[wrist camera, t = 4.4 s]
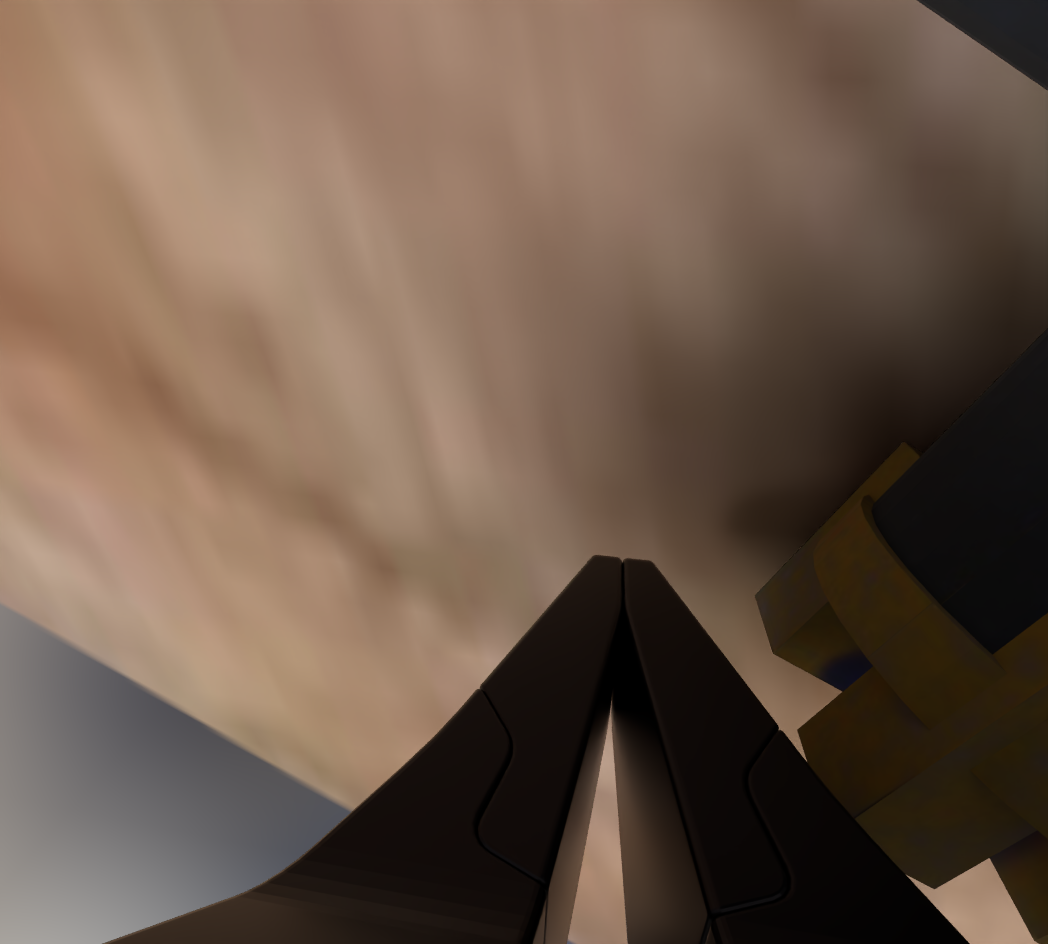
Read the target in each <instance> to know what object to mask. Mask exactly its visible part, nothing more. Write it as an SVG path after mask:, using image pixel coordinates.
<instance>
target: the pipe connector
mask: <svg viewBox="0 0 1048 944" xmlns="http://www.w3.org/2000/svg"><path fill="white" fill-rule="evenodd" d="M917 1H919V2H920V3H922V4H923V5H924V6H926V7H927V8H929V9H930V10H932V11H933V12H935V13H936V14H938V15H939V16H940V17H942V18H943V19H945V20H946V21H948V22H949V23H951V24H952V25H953V26H955V27H956V28H958V29H959V30H961V31H962V32H964V33H965V34H967V35H968V36H969V37H971V38H972V39H974V40H975V41H977V42H978V43H980V44H981V45H982V46H984V47H985V48H987V49H988V50H990V51H991V52H993V53H994V54H996V55H997V56H998V57H1000V58H1001V59H1003V60H1004V61H1006V62H1007V63H1009V64H1010V65H1012V66H1013V67H1014V68H1016V69H1017V70H1019V71H1020V72H1022V73H1023V74H1025V75H1026V76H1027V77H1029V78H1030V79H1032V80H1033V81H1035V82H1036V83H1038V84H1039V85H1041V86H1042V87H1043V88H1045V89H1046V90H1048V0H917ZM755 598H756V601H757V604H758V607H759V610H760V614H761V617H762V620H763V623H764V626H765V629H766V633H767V636H768V639H769V642H770V645H771V648H772V652H773V654H775V655H777V656H779V657H780V658H782V659H784V660H786V661H788V662H790V663H791V664H793V665H795V666H797V667H799V668H801V669H802V670H804V671H806V672H808V673H810V674H812V675H813V676H815V677H817V678H819V679H821V680H823V681H824V682H826V683H828V684H830V685H832V686H834V687H835V688H837V689H839V690H841V691H843V692H842V693H841V694H840V695H838V696H837V697H836V698H835V699H834V700H832V701H831V702H830V703H829V704H828V705H826V706H825V707H824V708H823V709H822V710H820V711H819V712H818V713H817V714H816V715H814V716H813V717H812V718H811V719H810V720H808V721H807V722H806V723H805V724H804V725H803V726H801V727H800V728H799V729H798V730H797V731H798V734H799V737H800V740H801V743H802V747H803V750H804V753H805V756H806V759H807V762H808V764H809V765H810V767H811V768H812V769H813V770H814V772H815V773H816V774H817V775H818V776H819V778H820V779H821V780H822V781H823V783H824V784H825V785H826V786H827V788H828V789H829V790H830V791H831V793H832V794H833V795H834V796H835V797H836V798H837V799H838V801H839V802H840V803H841V804H842V805H843V806H844V807H845V808H846V810H847V811H848V812H849V813H850V814H851V815H852V816H853V817H854V819H855V820H856V821H857V822H858V823H859V824H860V825H861V826H862V828H863V829H864V830H865V831H866V832H867V833H868V834H869V835H870V837H871V838H872V839H873V840H874V841H875V842H876V843H877V844H878V845H879V846H880V848H881V849H882V850H883V851H884V852H885V853H886V854H887V855H888V856H889V857H890V858H891V859H892V860H893V862H894V863H895V864H896V865H897V866H898V867H899V868H900V869H901V870H902V871H903V872H904V873H905V874H906V875H908V876H910V877H912V878H914V879H916V880H918V881H920V882H921V883H923V884H925V885H927V886H929V887H931V888H933V889H936V888H938V887H939V886H941V885H943V884H945V883H946V882H948V881H950V880H952V879H953V878H955V877H957V876H958V875H960V874H962V873H964V872H965V871H967V870H969V869H971V868H972V867H974V866H976V865H978V864H979V863H981V862H983V861H985V860H986V859H988V858H990V859H991V861H992V863H993V865H994V867H995V869H996V871H997V872H998V874H999V876H1000V878H1001V880H1002V882H1003V884H1004V885H1005V887H1006V889H1007V891H1008V893H1009V895H1010V897H1011V898H1012V900H1013V902H1014V904H1015V906H1016V908H1017V910H1018V911H1019V913H1020V915H1021V917H1022V919H1023V921H1024V923H1025V924H1026V926H1027V928H1028V930H1029V932H1030V934H1031V936H1032V937H1033V939H1034V941H1036V942H1037V943H1039V944H1048V329H1047V330H1046V331H1045V332H1044V333H1043V334H1042V335H1041V336H1040V337H1039V338H1038V339H1037V340H1036V341H1035V342H1034V343H1033V344H1032V345H1031V346H1030V347H1029V348H1028V349H1027V350H1026V351H1025V352H1024V353H1023V354H1022V355H1021V356H1020V357H1019V358H1018V359H1017V360H1016V361H1015V362H1014V363H1013V364H1012V365H1011V366H1010V367H1009V368H1008V369H1007V370H1006V371H1005V372H1004V373H1003V374H1002V375H1001V376H1000V377H999V378H998V379H997V380H996V381H995V382H994V383H993V384H992V385H991V386H990V387H989V388H988V389H987V390H986V391H985V392H984V393H983V394H982V395H981V396H980V397H979V398H978V399H977V400H976V401H975V402H974V403H973V404H972V405H971V406H970V407H969V408H968V409H967V410H966V411H965V412H964V413H963V414H962V415H961V416H960V417H959V418H958V419H957V420H956V421H955V422H954V423H953V424H952V425H951V426H950V427H949V428H948V429H947V430H946V431H945V432H944V433H943V434H942V435H941V436H940V437H939V438H938V439H937V440H936V441H935V442H934V443H933V444H932V445H931V446H930V447H929V448H928V449H927V450H926V451H925V452H924V453H922V452H920V451H919V450H917V449H915V448H914V447H912V446H910V445H909V444H907V443H905V442H903V443H902V444H901V445H900V446H899V447H898V448H897V449H896V450H895V451H894V452H893V453H892V454H891V455H890V456H889V457H888V458H887V459H886V460H885V461H884V462H883V463H882V464H881V465H880V467H879V468H878V469H877V470H876V471H875V472H874V473H873V474H872V475H871V476H870V477H869V478H868V479H867V480H866V481H865V482H864V483H863V484H862V485H861V486H860V487H859V488H858V489H857V490H856V491H855V492H854V493H853V494H852V496H851V497H850V498H849V499H848V500H847V501H846V502H845V503H844V504H843V505H842V506H841V507H840V508H839V509H838V510H837V511H836V512H835V513H834V514H833V515H832V516H831V517H830V518H829V519H828V520H827V521H826V522H825V523H824V525H823V526H822V527H821V528H820V529H819V530H818V531H817V532H816V533H815V534H814V535H813V536H812V537H811V538H810V539H809V540H808V541H807V542H806V543H805V544H804V545H803V546H802V547H801V548H800V549H799V550H798V551H797V552H796V554H795V555H794V556H793V557H792V558H791V559H790V560H789V561H788V562H787V563H786V564H785V565H784V566H783V567H782V568H781V569H780V570H779V571H778V572H777V573H776V574H775V575H774V576H773V577H772V578H771V579H770V580H769V581H768V583H767V584H766V585H765V586H764V587H763V588H762V589H761V590H760V591H759V592H758V593H757V594H756V595H755Z"/></svg>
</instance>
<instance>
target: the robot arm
mask: <svg viewBox="0 0 1048 944" xmlns="http://www.w3.org/2000/svg"><path fill="white" fill-rule="evenodd" d="M611 700H612V708H611ZM610 708H611V716H612V735H613V749H614V763H615V776H616V790H617V804H618V817H619V831H620V845H621V859H622V872H623V886H624V900H625V913H626V927H627V941H628V944H969V942H968V941H967V940H966V939H965V938H964V937H963V936H962V935H961V934H960V933H959V932H958V931H957V930H956V928H955V927H954V926H953V925H952V924H951V923H950V922H949V921H948V920H947V919H946V918H945V917H944V916H943V914H942V913H941V912H940V911H939V910H938V909H937V908H936V907H935V906H934V905H933V904H932V903H931V901H930V900H929V899H928V898H927V897H926V896H925V895H924V894H923V893H922V892H921V891H920V890H919V889H918V887H917V886H916V885H915V884H914V883H913V882H912V881H911V880H910V879H909V878H908V877H907V876H906V875H905V873H904V872H903V871H902V870H901V869H900V868H899V867H898V866H897V865H896V864H895V863H894V862H893V860H892V859H891V858H890V857H889V856H888V855H887V854H886V853H885V852H884V851H883V850H882V849H881V848H880V846H879V845H878V844H877V843H876V842H875V841H874V840H873V839H872V838H871V837H870V835H869V834H868V833H867V832H866V831H865V830H864V829H863V828H862V826H861V825H860V824H859V823H858V822H857V821H856V820H855V819H854V817H853V816H852V815H851V814H850V813H849V812H848V811H847V810H846V808H845V807H844V806H843V805H842V804H841V803H840V802H839V801H838V799H837V798H836V797H835V796H834V795H833V794H832V793H831V791H830V790H829V789H828V788H827V786H826V785H825V784H824V783H823V781H822V780H821V779H820V778H819V776H818V775H817V774H816V773H815V772H814V770H813V769H812V768H811V767H810V765H809V764H808V763H807V762H806V760H805V759H804V758H803V757H802V755H801V754H800V753H799V752H798V750H797V749H796V748H795V746H794V745H793V744H792V742H791V741H790V740H789V739H788V737H787V736H786V735H785V733H784V732H783V731H781V730H779V727H778V725H777V723H776V722H775V721H774V719H773V718H772V717H771V716H770V714H769V713H768V712H767V710H766V709H765V708H764V706H763V705H762V704H761V702H760V701H759V700H758V699H757V697H756V696H755V695H754V693H753V692H752V691H751V689H750V688H749V687H748V686H747V684H746V683H745V682H744V680H743V679H742V678H741V676H740V675H739V674H738V672H737V671H736V670H735V669H734V667H733V666H732V665H731V663H730V662H729V661H728V659H727V658H726V657H725V656H724V654H723V653H722V652H721V650H720V649H719V648H718V646H717V645H716V644H715V643H714V641H713V640H712V639H711V637H710V636H709V635H708V633H707V632H706V631H705V629H704V628H703V627H702V626H701V624H700V623H699V622H698V620H697V619H696V618H695V616H694V615H693V614H692V613H691V611H690V610H689V609H688V607H687V606H686V605H685V603H684V602H683V601H682V600H681V598H680V597H679V596H678V594H677V593H676V592H675V590H674V589H673V588H672V586H671V585H670V584H669V583H668V581H667V580H666V579H665V577H664V576H663V575H662V573H661V572H660V571H659V570H658V568H657V567H656V566H655V564H654V563H653V562H651V561H649V560H640V559H630V558H626V559H624V560H623V562H622V561H621V559H620V558H618V557H611V556H601V555H594V556H593V557H592V558H591V559H590V560H589V561H588V562H587V563H586V564H585V565H584V567H583V568H582V569H581V570H580V571H579V572H578V574H577V575H576V576H575V577H574V578H573V579H572V580H571V582H570V583H569V584H568V585H567V586H566V587H565V589H564V590H563V591H562V592H561V593H560V594H559V595H558V597H557V598H556V599H555V600H554V601H553V602H552V604H551V605H550V606H549V607H548V608H547V609H546V610H545V612H544V613H543V614H542V615H541V616H540V617H539V619H538V620H537V621H536V622H535V623H534V624H533V625H532V627H531V628H530V629H529V630H528V631H527V632H526V634H525V635H524V636H523V637H522V638H521V639H520V640H519V642H518V643H517V644H516V645H515V646H514V647H513V649H512V650H511V651H510V652H509V653H508V654H507V655H506V657H505V658H504V659H503V660H502V661H501V662H500V664H499V665H498V666H497V667H496V668H495V669H494V670H493V672H492V673H491V674H490V675H489V676H488V677H487V679H486V680H485V681H484V682H483V683H482V684H481V686H480V689H477V690H476V691H475V692H474V693H473V694H472V695H471V697H470V698H469V699H468V700H467V701H466V702H465V704H464V705H463V706H462V707H461V708H460V709H459V710H458V712H457V713H456V714H455V715H454V716H453V717H452V718H451V719H450V720H449V721H448V722H447V723H446V724H445V725H444V727H443V728H442V729H441V730H440V731H439V732H438V733H437V734H436V735H435V736H434V737H433V738H432V739H431V740H430V741H429V742H428V743H427V744H426V745H425V746H424V747H423V748H422V749H420V750H419V751H418V752H417V753H416V754H415V755H414V756H413V757H412V758H411V759H410V760H409V761H408V762H407V763H406V764H404V765H403V766H402V767H401V768H400V769H399V770H398V771H397V772H396V773H395V774H393V775H392V776H391V777H390V778H389V779H388V780H387V781H386V782H385V783H383V784H382V785H381V786H380V787H379V788H378V789H377V790H376V791H374V792H373V793H372V794H371V795H370V796H369V797H368V798H367V799H366V800H364V801H363V802H362V803H361V804H360V805H359V806H358V807H357V808H355V809H354V810H353V811H352V812H351V813H350V814H349V815H348V816H347V817H345V818H344V819H343V820H342V821H341V822H340V823H339V824H338V825H336V826H335V827H334V828H333V829H332V830H331V831H330V832H329V833H327V834H326V835H325V836H324V837H323V838H322V839H321V840H320V841H319V842H317V843H316V844H315V845H314V846H313V847H312V848H311V849H309V850H308V851H307V852H306V853H305V854H303V855H302V856H301V857H300V858H299V859H297V860H296V861H295V862H293V863H292V864H291V865H289V866H288V867H286V868H285V869H284V870H282V871H281V872H279V873H278V874H276V875H275V876H273V877H271V878H270V879H268V880H267V881H265V882H263V883H262V884H260V885H258V886H256V887H254V888H252V889H250V890H248V891H246V892H244V893H241V894H239V895H236V896H234V897H231V898H228V899H225V900H223V901H220V902H217V903H214V904H211V905H209V906H206V907H203V908H200V909H197V910H195V911H192V912H189V913H186V914H184V915H181V916H178V917H175V918H172V919H170V920H167V921H164V922H161V923H159V924H156V925H153V926H150V927H148V928H145V929H142V930H139V931H136V932H134V933H131V934H128V935H125V936H123V937H120V938H117V939H114V940H111V941H109V942H106V943H103V944H567V939H568V934H569V929H570V924H571V918H572V913H573V908H574V902H575V897H576V892H577V887H578V881H579V876H580V871H581V866H582V860H583V855H584V850H585V844H586V839H587V834H588V829H589V823H590V818H591V813H592V808H593V802H594V797H595V792H596V786H597V781H598V776H599V771H600V765H601V760H602V755H603V750H604V744H605V739H606V734H607V728H608V722H609V716H610Z"/></svg>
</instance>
